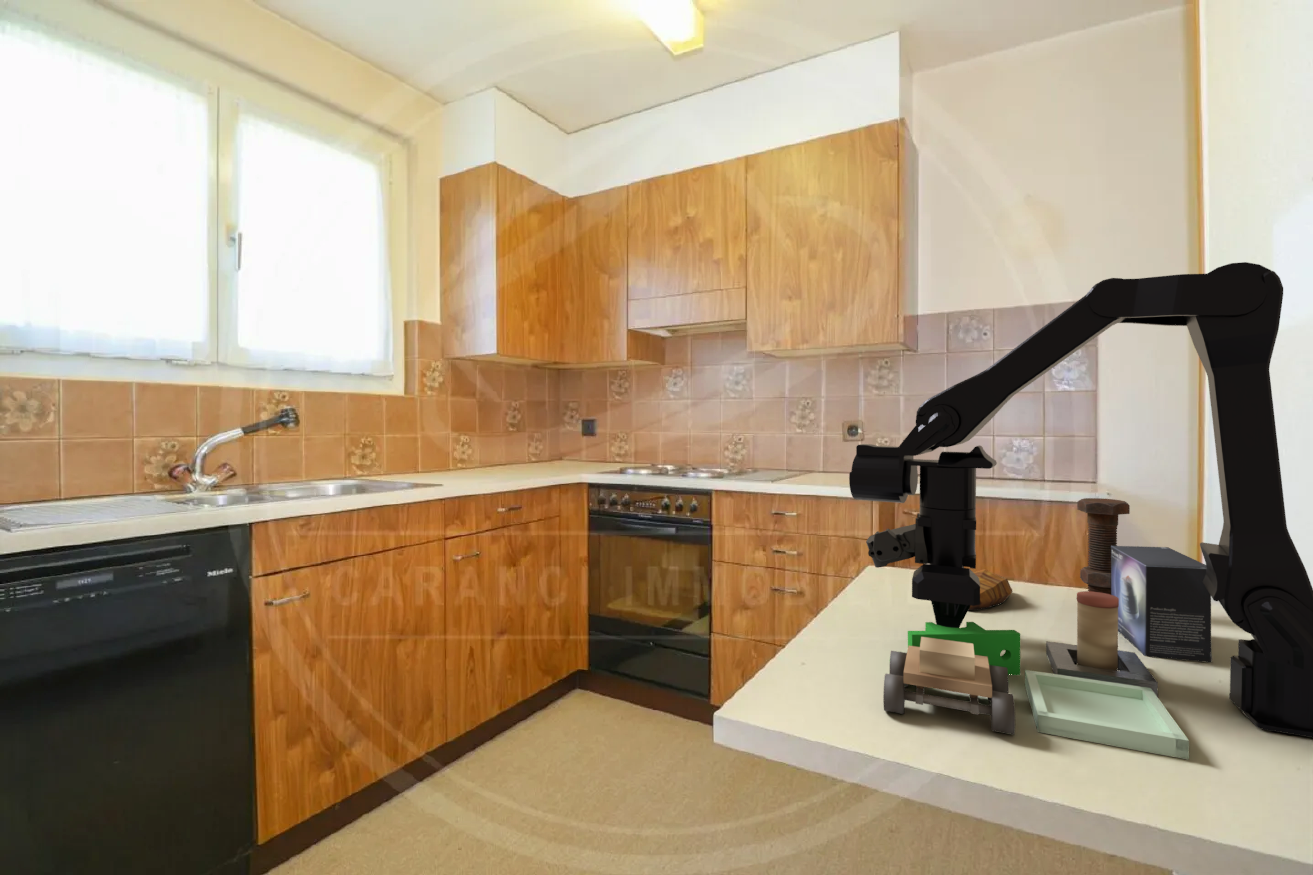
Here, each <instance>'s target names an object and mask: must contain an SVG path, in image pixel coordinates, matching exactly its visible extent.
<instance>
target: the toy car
mask: <svg viewBox="0 0 1313 875" xmlns="http://www.w3.org/2000/svg"><path fill="white" fill-rule="evenodd" d="M883 679H884V680H883V697H882V698H883V703H882V704H883V711H885V712H890V713H896V714H899V715H900V714H901V715H904V714H905V704H906V701H909V702H914V703H915V704H917V705H924V704H925V705H931V706H937V707H941V708H947V709H952V710H953V709H954V710H958V711H959V710H960V711H965V712H970V714H973V715H979V714H982V715H988V716H990V726H991V731H992V732H997V733H1002V734H1008V735H1012V736H1014V735H1015V732H1016V711H1015V710H1016V709H1015V698H1014V694H1013V693H1010V691H1009V690H1010V688H1009V675H1008V670H1007V668H1006V667H1000V666H993V665H989V663H988V657H986V656H979V655H974V646H973V644H972V643H965V642H957V641H950V640H942V639H935V638H927V637H921V643H920V647H915V646H908V645H907V651H906V652H903V651H897V650H891V651H890V657H889V673H885V675H884V678H883ZM909 685H911V686H912V685H913V686H915V687H916V689H915V691H909V690H906V688H908V687H909ZM925 688H929V689H935V690H943V691H949V692H954V693H960V694H964V695H965V694H966V695H969V701H967V700H961V699H956V698H951V697H943V696H938V695H934V694H933V695H932V694H926V693H925ZM979 697H984V698H987V701H989V702H990V704H985V703H979Z"/></svg>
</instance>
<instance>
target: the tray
mask: <svg viewBox="0 0 1313 875" xmlns="http://www.w3.org/2000/svg"><path fill="white" fill-rule="evenodd" d="M1024 687H1025V690H1026V694H1027V698H1028V701H1029V705H1030V708H1031V712H1032V716H1033V720H1034V722H1035V727H1036V729H1037V733H1042V734H1046V735H1052V736H1057V737H1063V738H1069V739H1074V740H1078V741H1079V740H1080V741H1083V742H1084V741H1085V742H1090V743H1095V744H1102V745H1106V746H1113V747H1117V748H1123V749H1129V750H1134V751H1139V752H1144V753H1145V752H1146V753H1150V754H1156V755H1162V756H1167V757H1171V758H1172V757H1173V758H1177V759H1183V760H1190V740H1189V739H1188V737H1187V736H1186V735H1185V733H1184V731H1183V730H1182V729H1181V728H1180V726H1179V725H1178V723H1177V722H1176V720H1174V718H1173V717H1172V715H1171V714H1170V713H1169V711H1168V710H1167V708H1166V706H1164V704H1163V703H1162V701H1161V700H1160V698H1158V697H1159V696H1158V697H1157V696H1156V695H1155V693H1154V692H1153V690H1152V689H1151V688H1147V687H1140V686H1133V685H1126V684H1119V683H1112V682H1106V681H1099V680H1092V679H1085V678H1078V677H1071V676H1064V675H1058V674H1054V673H1050V672H1043V671H1035V670H1031V669H1025V670H1024Z"/></svg>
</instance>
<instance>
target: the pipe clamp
mask: <svg viewBox="0 0 1313 875" xmlns="http://www.w3.org/2000/svg"><path fill="white" fill-rule="evenodd" d="M965 624H966V625H965V626H963V627H959V628H950V627H944V626H940V625H937V624H936V623H935V622H933V621H929V622H928V621H926V622H925V625H924V627H925V630H907V647H908V646H915V647H920V643H921V637H927V638H935V639H942V640H950V641H957V642H965V643H972V644H973V646H974V655H979V656H986V657H988V663H989V665H993V666H1000V667H1006V668H1007V670H1008V676H1021V633H1020V632H1019V631H1017V630H1016V629H985V628H983V627H982V626H981V625H979V624H977V623H976V622H974V621H966V622H965ZM1003 651H1004V654H1002V652H1003ZM1009 674H1010V675H1009ZM1011 674H1012V675H1011Z"/></svg>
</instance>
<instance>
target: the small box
mask: <svg viewBox="0 0 1313 875" xmlns="http://www.w3.org/2000/svg"><path fill="white" fill-rule="evenodd" d="M1205 576H1206V563H1202V562H1201V561H1198V560H1196V559H1194V558H1192V557H1190V556H1187V555H1186V554H1184V553H1182V552H1179V551H1177V550H1175V549H1172V548H1170V547H1167V546H1139V545H1137V546H1136V545H1135V546H1134V545H1117V546H1111V595H1113V596H1116V597H1118V598H1119V606H1118V633H1119V634H1120V635H1122V636H1123V637H1124V638H1125V639H1126V640H1127V641H1128V642H1129V643H1130V644H1131V645H1132V646H1134V648H1136V649H1137V650H1138V651H1139V652H1140V653H1141V654H1142V655H1143V656H1144V657H1149V658H1161V659H1169V660H1170V659H1171V660H1181V661H1193V662H1201V663H1202V662H1203V663H1212V662H1213V655H1212V654H1213V653H1212V652H1213V648H1212V597H1211V595H1210V593H1209V592H1208V590H1207V588H1206V587H1205V585H1204V584H1203V580H1204V578H1205Z"/></svg>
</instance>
